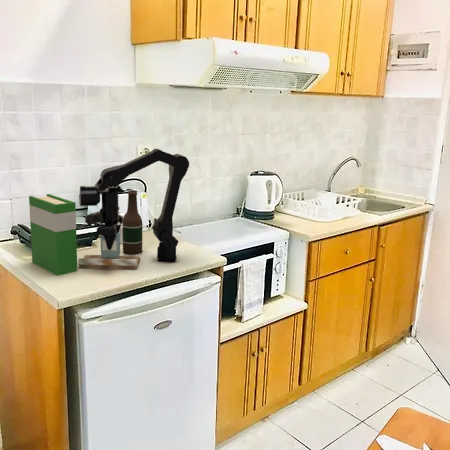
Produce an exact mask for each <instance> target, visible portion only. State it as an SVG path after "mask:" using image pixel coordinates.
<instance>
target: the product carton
mask: <svg viewBox="0 0 450 450" xmlns="http://www.w3.org/2000/svg"><path fill="white" fill-rule="evenodd" d="M100 255H101V258H118V257H119V256H121V244H120V233H117V235H116V238H115V240H114V243H113V246H112V249H111V250H108V248H107V245H106V242H105V238H104V236H102V235H100Z"/></svg>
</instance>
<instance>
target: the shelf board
mask: <svg viewBox="0 0 450 450" xmlns="http://www.w3.org/2000/svg"><path fill="white" fill-rule="evenodd" d="M140 261H141V256H140V255H119V257H118V258H101V254H84V256H83V257H78V258H77V262H78V269H81V270H82V269H89V270H121V271H122V270H123V271H124V270H126V271H127V270H128V271H137V270H138V268H139V264H140Z"/></svg>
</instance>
